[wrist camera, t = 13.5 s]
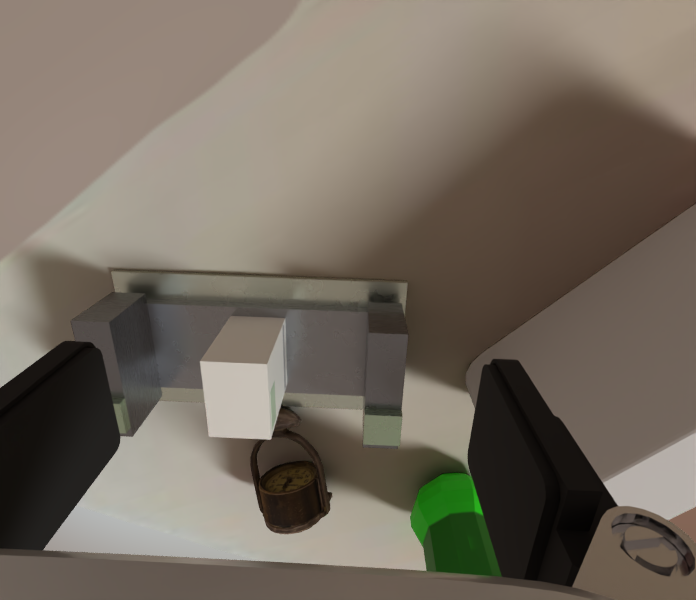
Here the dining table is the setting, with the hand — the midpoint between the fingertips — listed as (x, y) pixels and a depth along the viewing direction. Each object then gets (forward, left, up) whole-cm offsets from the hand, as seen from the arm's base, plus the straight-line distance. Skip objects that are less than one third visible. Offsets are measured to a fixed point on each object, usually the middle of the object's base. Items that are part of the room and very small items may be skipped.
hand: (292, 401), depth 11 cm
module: (+14, -7, -26) cm, 31 cm away
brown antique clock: (+28, -5, -29) cm, 40 cm away
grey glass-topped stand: (+14, -8, -28) cm, 32 cm away
